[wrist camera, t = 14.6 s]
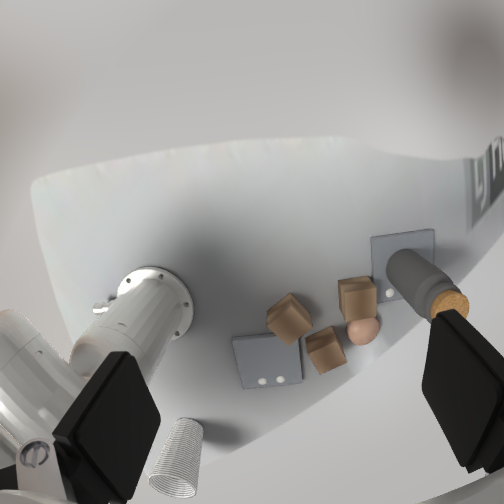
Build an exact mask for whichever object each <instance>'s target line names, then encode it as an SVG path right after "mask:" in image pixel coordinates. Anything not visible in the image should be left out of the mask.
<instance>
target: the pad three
mask: <svg viewBox="0 0 504 504" xmlns="http://www.w3.org/2000/svg"><path fill="white" fill-rule="evenodd" d="M402 249H410V250H412V251H414V252H416V253H417V254H419V255H420V256H422V257H423V258H424V259H426V260H427V261H429V262H430V263H431V264H433V258H434V230H432V229H426V230H419V231H412V232H405V233H397V234H390V235H383V236H376V237H371V255H372V282H373V284H374V285H375V286H376V304H377V303H383V302H388V301H393V300H399V299H404V298H403V296H402V295H401V294H400V293H399V292H398V291H397V290H396V288H395V287H394V286H393V285H392V284H391V283H390V281H389V280H388V278H387V275H386V266H387V263H388V260H389V259H390V257H391V256H392V255H393V254H394V253H395V252H397V251H399V250H402Z"/></svg>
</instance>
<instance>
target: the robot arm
mask: <svg viewBox="0 0 504 504" xmlns="http://www.w3.org/2000/svg"><path fill="white" fill-rule="evenodd" d="M162 274H163V275H164V276H162ZM130 279H131V280H130ZM187 302H188V303H187ZM93 310H94V313H95V315H101V316H100V317H99V318H98V319H97V320H96V321H95V322H94V323H93V324H92V325H91V326H90V327H89V329H88V330H87V331H85V332H84V333H83V334H82V336H81V337H80V338H79V339H78V340H77V342H76V343H75V345H74V347H73V349H72V353H71V356H70V360H69V364H68V363H67V362H66V361H65V360H64V359H63V358H62V357H61V356H60V355H59V354H58V352H57V351H56V350H55V349H54V348H53V347H52V346H51V345H50V344H49V343H48V342H47V340H46V339H45V338H44V337H43V336H42V335H41V333H40V332H39V331H38V330H37V329H36V328H35V326H34V325H33V324H32V323H31V322H30V321H29V320H28V319H27V318H26V317H25V316H24V315H22V314H21V313H19V312H17V311H15V310H4V311H1V312H0V424H1V425H2V426H3V427H4V428H5V429H6V430H7V431H8V432H9V433H10V434H11V435H12V436H13V437H12V436H11V435H10V434H9V433H8V432H7V431H6V430H5V429H4V428H3V427H2V426H1V425H0V504H108V503H110V504H126V503H127V500H130V499H131V498H132V497H133V494H134V492H135V489H136V486H137V484H138V481H139V478H140V476H141V473H142V470H143V468H144V465H145V462H146V460H147V457H148V454H149V452H150V449H151V447H152V444H153V441H154V439H155V436H156V433H157V431H158V428H159V426H160V422H161V417H160V413H159V411H158V409H157V407H156V405H155V403H154V400H153V398H152V396H151V394H150V392H149V389H148V387H147V386H148V384H149V383H150V381H151V379H152V377H153V375H154V373H155V371H156V369H157V367H158V365H159V363H160V361H161V359H162V357H163V355H164V353H165V351H166V349H167V347H168V345H169V343H170V341H173V340H176V339H178V338H179V337H181V336H182V335H183V334H184V333H185V332H186V331H187V330H188V328H189V327H190V325H191V322H192V320H193V315H194V306H193V301H192V298H191V295H190V293H189V291H188V290H187V288H186V286H185V285H184V284H183V283H182V282H181V281H180V280H179V279H178V278H177V277H176V276H175V275H173V274H171V273H170V272H168V271H166V270H163V269H160V268H156V267H142V268H138V269H136V270H134V271H132V272H130V273H129V274H128V275H127V276H126V277H125V278H124V279H123V280H122V281H121V283H120V285H119V288H118V291H117V298H116V299H115V300H111V301H110V302H109V303H95V304H94V307H93ZM422 392H423V394H424V396H425V398H426V400H427V402H428V404H429V405H430V407H431V409H432V411H433V413H434V415H435V417H436V419H437V420H438V422H439V424H440V426H441V428H442V430H443V432H444V434H445V436H446V438H447V440H448V442H449V444H450V446H451V448H452V450H453V452H454V454H455V456H456V458H457V460H458V462H459V464H460V466H461V467H466V469H467V471H468V473H472V472H474V471H476V470H478V469H480V468H482V467H483V468H484V470H485V472H486V474H485V477H484V478H481V479H479V480H477V481H474V482H472V483H470V484H467V485H465V486H463V487H461V488H458V489H455V490H453V491H450V492H448V493H445V494H443V495H440V496H437V497H435V498H432V499H429V500H426V501H423V502H421V503H418V504H504V358H503V356H502V355H501V354H500V353H499V352H498V351H497V350H496V349H495V348H494V347H493V346H492V345H491V344H490V343H489V342H488V341H487V340H486V339H485V338H484V337H483V336H482V335H481V334H480V333H479V332H478V331H477V330H476V329H475V328H474V327H473V326H472V325H471V324H470V323H469V322H468V321H467V320H466V319H465V318H464V317H463V316H462V315H461V314H460V313H459V312H458V311H457V310H455V309H449V310H445V311H441V312H438V313H437V314H436V317H435V318H433V319H432V321H431V329H430V336H429V344H428V351H427V357H426V363H425V370H424V374H423V380H422ZM20 444H21V445H22V446H21V445H20Z"/></svg>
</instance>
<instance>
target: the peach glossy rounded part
mask: <svg viewBox="0 0 504 504" xmlns="http://www.w3.org/2000/svg"><path fill="white" fill-rule="evenodd" d="M346 332H347V335H348V337H349V338H350V340H351V341H352V342H353V343H354V344H356V345H365V344H368V343H369V342H371V341H372V340H373V339H374V338H375V337H376V336H377V334H378V332H379V323H378V321H377V320H376V319H375V317H373V318H367V319H362V320H356V321H350V322H349V323H348V325H347V328H346Z"/></svg>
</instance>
